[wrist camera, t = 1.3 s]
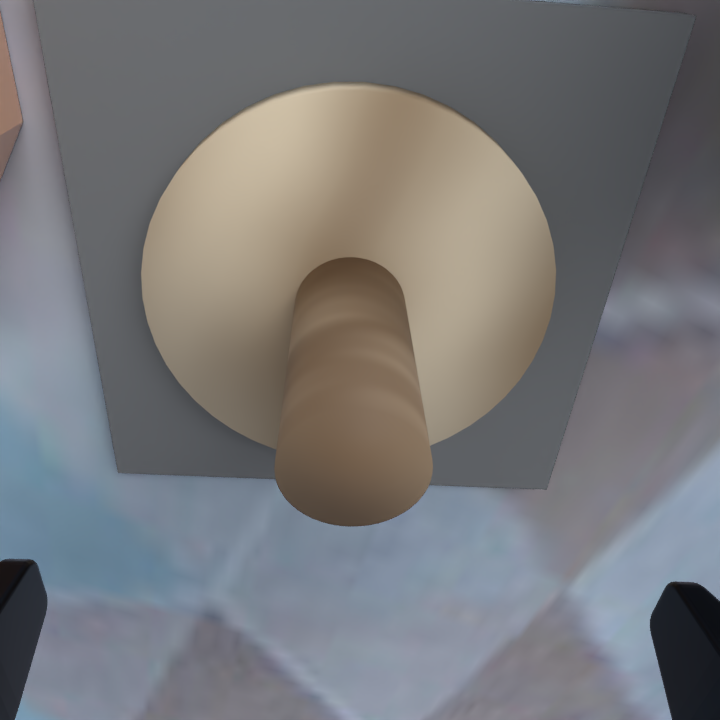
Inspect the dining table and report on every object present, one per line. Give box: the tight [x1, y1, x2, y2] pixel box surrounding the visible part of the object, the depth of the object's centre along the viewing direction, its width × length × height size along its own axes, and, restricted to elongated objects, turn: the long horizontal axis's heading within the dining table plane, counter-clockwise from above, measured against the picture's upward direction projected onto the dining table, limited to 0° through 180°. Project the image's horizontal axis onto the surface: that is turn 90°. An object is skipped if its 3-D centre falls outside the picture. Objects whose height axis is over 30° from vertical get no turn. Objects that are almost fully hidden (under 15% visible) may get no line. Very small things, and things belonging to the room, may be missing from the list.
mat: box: [33, 0, 696, 490], centre depth 18 cm, size 14×14×1 cm
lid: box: [141, 82, 556, 526], centre depth 14 cm, size 10×10×7 cm
